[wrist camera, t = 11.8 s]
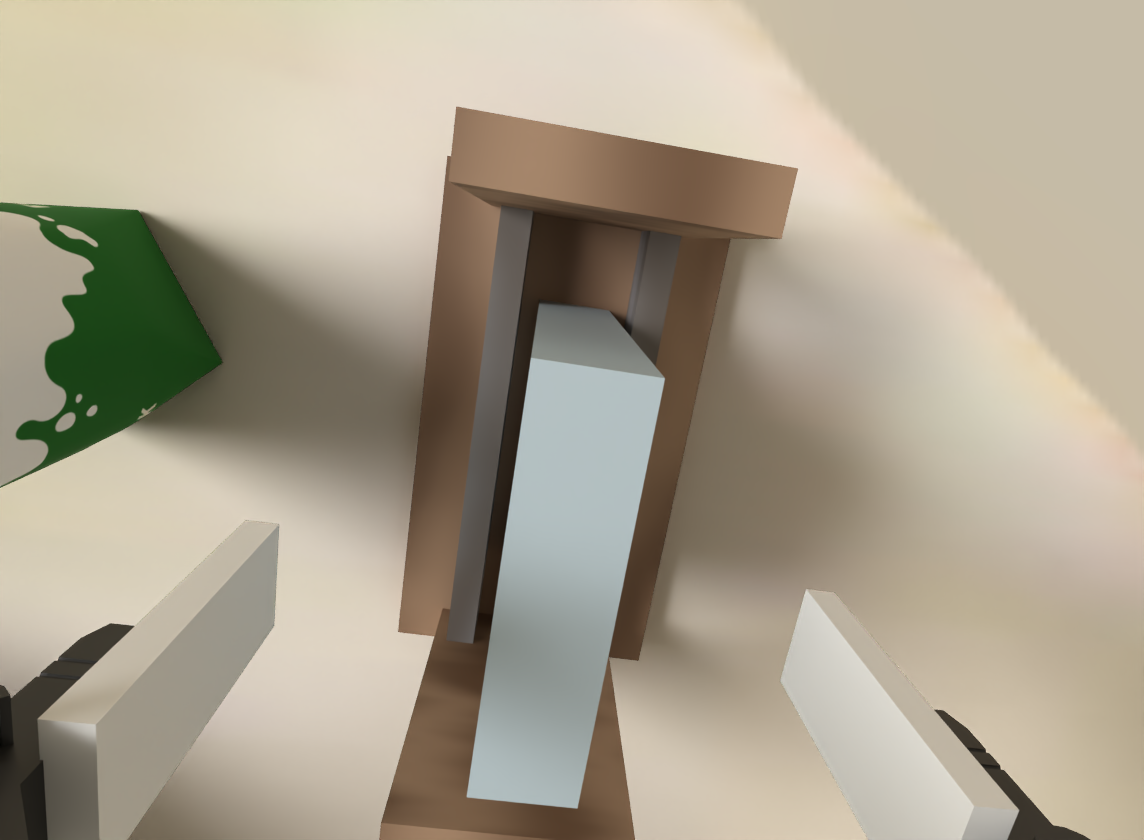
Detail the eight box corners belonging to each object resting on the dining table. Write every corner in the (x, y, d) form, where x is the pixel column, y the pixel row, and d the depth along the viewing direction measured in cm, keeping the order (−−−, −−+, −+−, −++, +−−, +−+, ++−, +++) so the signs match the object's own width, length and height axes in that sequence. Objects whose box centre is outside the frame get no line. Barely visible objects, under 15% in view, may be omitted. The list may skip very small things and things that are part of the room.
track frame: (404, 614, 33) (311, 857, 20) (452, 160, 27) (366, 90, 14) (634, 642, 34) (687, 891, 21) (727, 208, 28) (879, 183, 15)
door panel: (502, 552, 31) (466, 797, 17) (539, 299, 28) (530, 357, 14) (564, 560, 31) (577, 808, 18) (609, 310, 28) (665, 378, 14)
